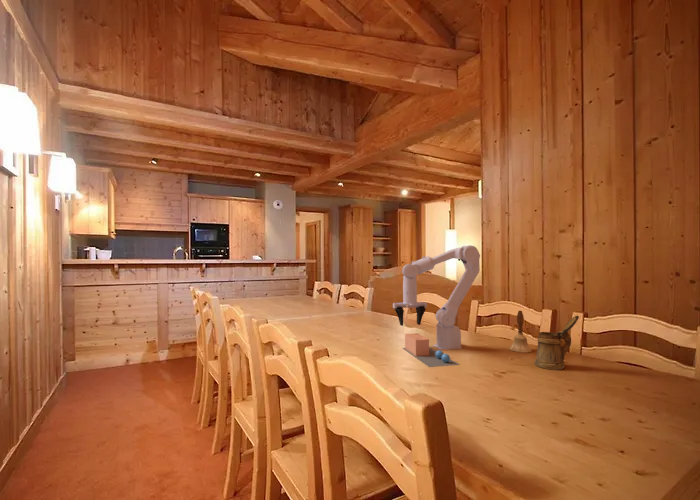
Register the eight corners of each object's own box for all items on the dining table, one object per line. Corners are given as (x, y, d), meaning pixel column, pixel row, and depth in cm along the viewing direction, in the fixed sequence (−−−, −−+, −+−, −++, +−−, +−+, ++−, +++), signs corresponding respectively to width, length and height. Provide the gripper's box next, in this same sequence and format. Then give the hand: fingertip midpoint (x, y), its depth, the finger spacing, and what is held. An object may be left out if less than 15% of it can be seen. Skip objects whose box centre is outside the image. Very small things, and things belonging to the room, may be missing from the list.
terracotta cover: (417, 348, 145) (417, 333, 145) (429, 355, 134) (429, 339, 134) (405, 348, 144) (405, 334, 144) (415, 356, 133) (415, 340, 133)
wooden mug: (582, 373, 115) (581, 317, 115) (536, 368, 120) (535, 315, 120) (577, 365, 123) (576, 313, 123) (533, 361, 128) (532, 311, 128)
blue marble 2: (447, 360, 127) (447, 352, 127) (451, 363, 124) (451, 354, 124) (439, 361, 126) (439, 352, 126) (443, 363, 123) (443, 355, 123)
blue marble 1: (441, 357, 131) (441, 349, 132) (445, 359, 129) (445, 351, 129) (433, 357, 131) (433, 349, 131) (437, 360, 128) (437, 351, 128)
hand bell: (536, 352, 139) (535, 312, 140) (514, 352, 139) (514, 312, 140) (525, 347, 147) (525, 309, 148) (505, 347, 148) (505, 309, 148)
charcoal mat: (428, 347, 147) (428, 346, 147) (460, 366, 122) (460, 364, 122) (402, 349, 145) (402, 348, 145) (429, 368, 120) (429, 366, 120)
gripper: (396, 293, 143) (397, 327, 143) (430, 292, 146) (430, 325, 146) (391, 292, 150) (391, 324, 150) (422, 291, 153) (423, 322, 153)
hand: (410, 324), depth 148 cm, fingers open, 7 cm apart
